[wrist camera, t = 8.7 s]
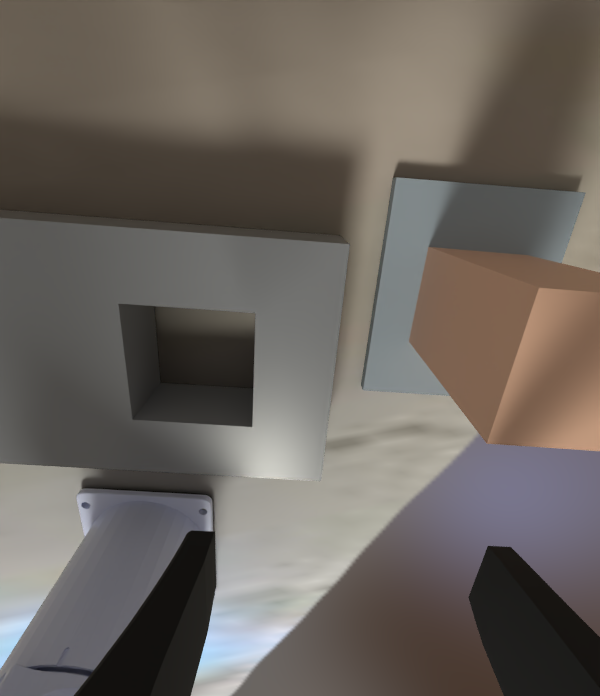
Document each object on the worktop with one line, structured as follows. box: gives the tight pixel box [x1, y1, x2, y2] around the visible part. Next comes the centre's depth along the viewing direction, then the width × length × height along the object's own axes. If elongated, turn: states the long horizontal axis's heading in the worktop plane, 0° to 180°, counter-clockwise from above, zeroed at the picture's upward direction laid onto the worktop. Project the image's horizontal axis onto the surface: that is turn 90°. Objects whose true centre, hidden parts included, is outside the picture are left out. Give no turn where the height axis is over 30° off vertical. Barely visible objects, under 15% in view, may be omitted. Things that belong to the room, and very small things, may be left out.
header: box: [0, 210, 350, 481], centre depth 17 cm, size 11×16×4 cm
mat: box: [361, 177, 585, 396], centre depth 17 cm, size 10×8×1 cm
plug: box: [409, 247, 600, 451], centre depth 13 cm, size 4×4×8 cm
